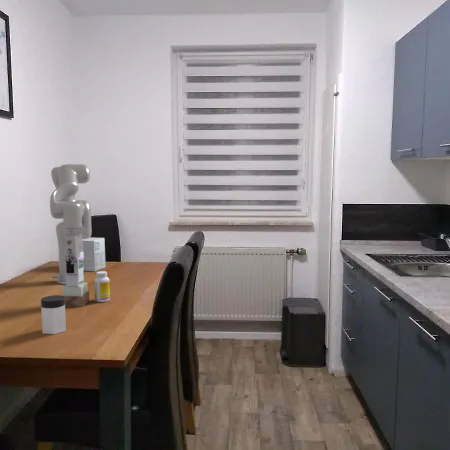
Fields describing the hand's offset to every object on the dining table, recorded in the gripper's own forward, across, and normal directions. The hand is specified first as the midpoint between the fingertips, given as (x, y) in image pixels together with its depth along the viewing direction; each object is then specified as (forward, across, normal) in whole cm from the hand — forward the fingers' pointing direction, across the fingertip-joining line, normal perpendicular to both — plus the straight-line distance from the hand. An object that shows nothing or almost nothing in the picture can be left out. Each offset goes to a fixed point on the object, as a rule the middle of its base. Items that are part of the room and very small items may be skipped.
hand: (74, 270), depth 199 cm
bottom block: (+15, 0, 0) cm, 15 cm away
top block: (+10, +1, 0) cm, 10 cm away
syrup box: (+6, 0, 0) cm, 7 cm away
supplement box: (+15, +73, +18) cm, 77 cm away
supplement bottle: (+15, +6, -10) cm, 19 cm away
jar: (+15, -34, -4) cm, 37 cm away
